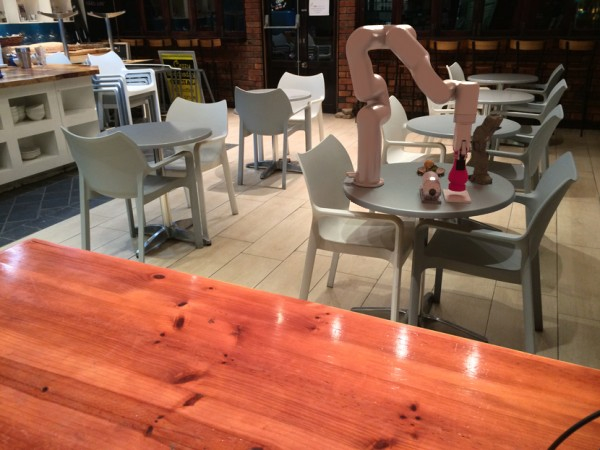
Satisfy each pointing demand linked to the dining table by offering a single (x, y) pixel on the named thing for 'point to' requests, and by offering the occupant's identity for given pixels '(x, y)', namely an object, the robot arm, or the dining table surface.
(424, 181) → the motor housing
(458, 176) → the pepper mill
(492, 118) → the brown tall irregular piece
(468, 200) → the far mat
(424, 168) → the brown orange lobed cluster
